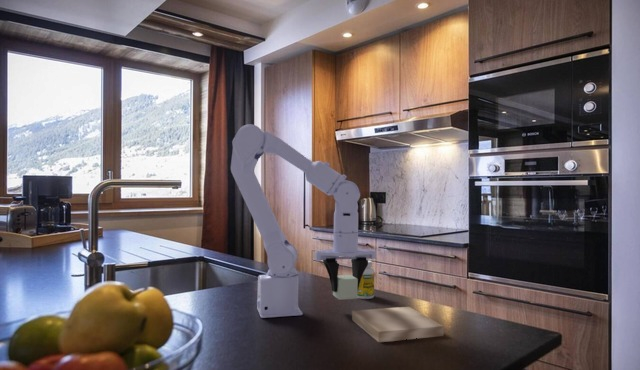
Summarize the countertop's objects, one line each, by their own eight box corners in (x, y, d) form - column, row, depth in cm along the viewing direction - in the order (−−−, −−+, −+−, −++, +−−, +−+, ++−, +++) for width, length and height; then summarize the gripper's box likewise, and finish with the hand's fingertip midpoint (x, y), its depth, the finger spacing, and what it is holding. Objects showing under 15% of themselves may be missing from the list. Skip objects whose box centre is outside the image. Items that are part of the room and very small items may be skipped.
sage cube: (338, 299, 94) (339, 279, 94) (332, 294, 98) (333, 275, 98) (357, 298, 95) (357, 278, 95) (350, 293, 99) (350, 274, 99)
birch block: (378, 345, 78) (378, 331, 78) (351, 322, 91) (352, 310, 91) (443, 338, 82) (443, 326, 82) (408, 317, 95) (408, 306, 95)
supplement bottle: (365, 293, 115) (366, 258, 115) (378, 297, 111) (378, 261, 111) (350, 295, 112) (350, 260, 112) (362, 300, 108) (363, 263, 108)
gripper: (320, 234, 91) (319, 296, 91) (381, 233, 95) (380, 292, 94) (312, 231, 98) (311, 288, 97) (369, 230, 101) (368, 286, 101)
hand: (344, 290), depth 96 cm, fingers closed on sage cube, 4 cm apart
